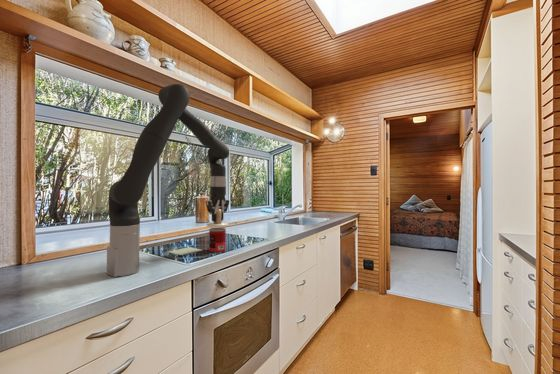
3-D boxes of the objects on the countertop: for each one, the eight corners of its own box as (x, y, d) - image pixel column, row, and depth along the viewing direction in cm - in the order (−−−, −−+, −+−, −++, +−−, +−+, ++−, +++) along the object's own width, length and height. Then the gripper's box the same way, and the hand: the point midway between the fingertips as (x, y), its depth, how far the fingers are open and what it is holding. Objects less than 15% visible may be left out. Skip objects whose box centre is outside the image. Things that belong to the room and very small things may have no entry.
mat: (180, 256, 114) (180, 255, 114) (167, 253, 120) (167, 251, 120) (202, 251, 124) (202, 249, 124) (189, 248, 129) (189, 247, 129)
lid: (216, 227, 117) (216, 210, 117) (202, 225, 123) (202, 209, 123) (232, 225, 125) (232, 209, 125) (218, 223, 131) (218, 208, 131)
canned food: (227, 249, 127) (227, 227, 128) (222, 253, 119) (222, 230, 120) (212, 249, 128) (212, 227, 128) (206, 253, 120) (206, 229, 120)
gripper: (211, 185, 116) (211, 223, 116) (233, 186, 128) (233, 220, 128) (201, 185, 120) (200, 222, 120) (223, 186, 132) (223, 219, 132)
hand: (217, 221), depth 124 cm, fingers closed on lid, 3 cm apart
